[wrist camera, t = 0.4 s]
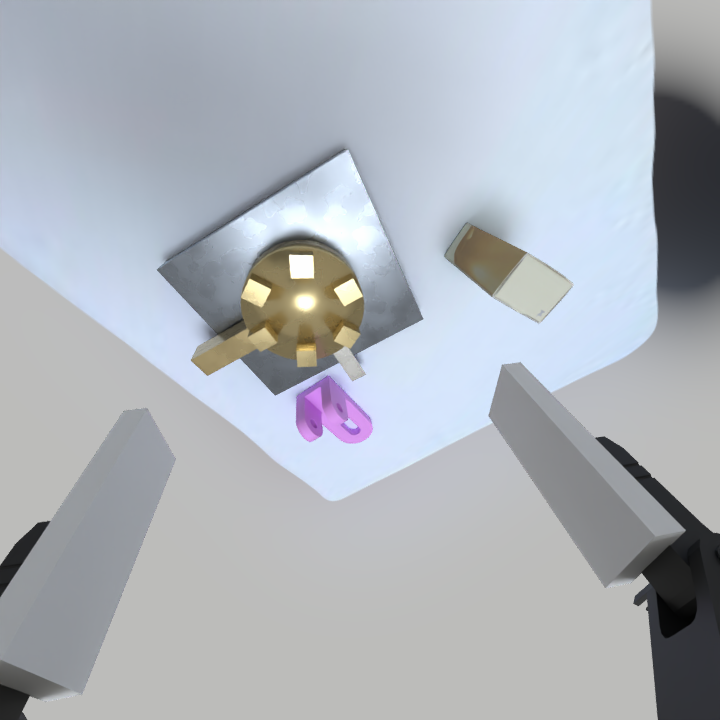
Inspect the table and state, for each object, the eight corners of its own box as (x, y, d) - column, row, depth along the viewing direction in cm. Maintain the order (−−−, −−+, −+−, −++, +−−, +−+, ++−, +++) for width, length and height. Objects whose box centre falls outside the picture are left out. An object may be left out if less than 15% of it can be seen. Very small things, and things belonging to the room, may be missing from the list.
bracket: (296, 395, 45) (295, 431, 40) (328, 374, 44) (332, 409, 38) (349, 441, 52) (354, 478, 46) (377, 425, 51) (386, 460, 45)
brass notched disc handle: (323, 215, 30) (326, 226, 26) (377, 315, 37) (386, 334, 33) (164, 311, 33) (146, 333, 29) (241, 387, 39) (234, 413, 36)
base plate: (165, 261, 33) (156, 269, 31) (344, 149, 30) (348, 149, 28) (291, 399, 45) (290, 412, 43) (426, 330, 42) (432, 340, 40)
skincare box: (505, 247, 37) (579, 285, 27) (481, 279, 39) (542, 326, 29) (464, 219, 35) (529, 250, 25) (440, 255, 37) (492, 298, 27)
